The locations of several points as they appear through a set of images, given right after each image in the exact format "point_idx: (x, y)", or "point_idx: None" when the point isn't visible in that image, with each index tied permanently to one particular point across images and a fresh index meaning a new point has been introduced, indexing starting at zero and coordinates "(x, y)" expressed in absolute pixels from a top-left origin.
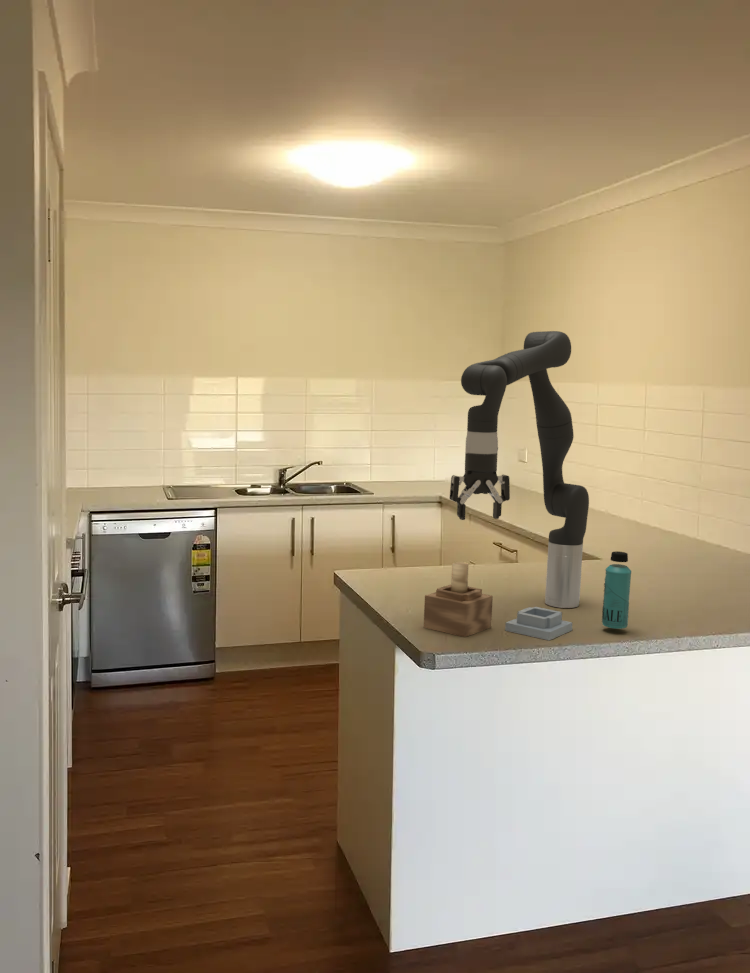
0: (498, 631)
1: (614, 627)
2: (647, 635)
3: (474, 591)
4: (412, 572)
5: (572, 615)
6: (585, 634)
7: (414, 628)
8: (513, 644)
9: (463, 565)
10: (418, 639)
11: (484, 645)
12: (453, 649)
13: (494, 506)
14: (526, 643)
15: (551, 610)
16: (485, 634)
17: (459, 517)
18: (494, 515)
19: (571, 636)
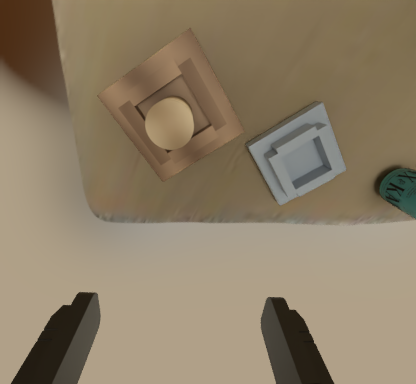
0: (233, 145)
1: (383, 198)
2: None
3: (201, 139)
4: None
5: (410, 84)
6: (341, 186)
7: None
8: (220, 205)
9: (169, 149)
10: (92, 157)
11: (180, 201)
12: (131, 208)
13: (286, 369)
14: (239, 205)
15: (334, 155)
16: None
17: (78, 297)
18: (268, 320)
19: (316, 190)
